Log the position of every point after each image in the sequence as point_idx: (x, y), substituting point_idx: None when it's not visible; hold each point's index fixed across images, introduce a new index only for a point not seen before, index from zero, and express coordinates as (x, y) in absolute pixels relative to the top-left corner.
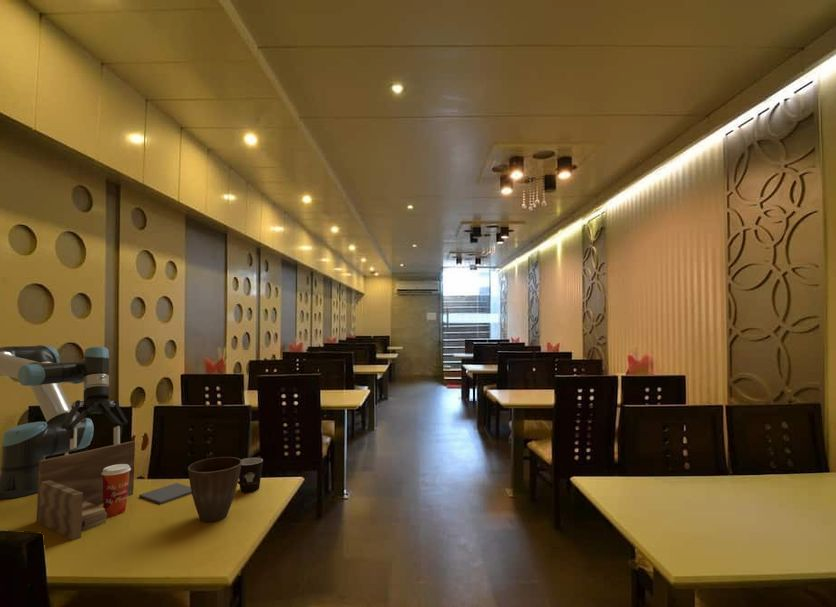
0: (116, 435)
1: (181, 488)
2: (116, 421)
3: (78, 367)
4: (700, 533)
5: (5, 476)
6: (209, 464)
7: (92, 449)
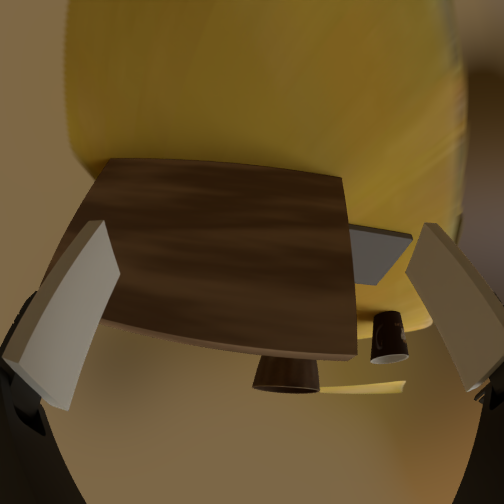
0: (445, 310)
1: (377, 265)
2: (477, 434)
3: None
4: (340, 389)
5: None
6: (304, 379)
7: (179, 336)
